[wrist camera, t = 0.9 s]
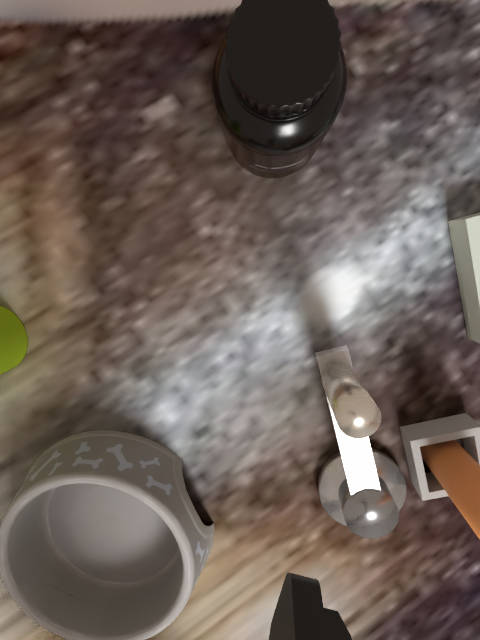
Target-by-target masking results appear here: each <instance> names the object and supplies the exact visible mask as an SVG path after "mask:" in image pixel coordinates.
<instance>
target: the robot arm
mask: <svg viewBox="0 0 480 640" xmlns="http://www.w3.org/2000/svg"><path fill="white" fill-rule="evenodd" d="M269 640H352V639H351V635H350V633H349V632H348V630H347V628H346V626H345V624H344V622H343V620H342V619H341V617H340V615H339V613H338V611H334V610H330V609H326V608H323V602H322V596H321V589H320V584H319V581H318V580H316V579H312V578H308V577H304V576H300V575H296V574H293V573H287V575H286V577H285V580H284V584H283V587H282V590H281V593H280V597H279V600H278V603H277V606H276V609H275V613H274V616H273V619H272V623H271V629H270V635H269Z"/></svg>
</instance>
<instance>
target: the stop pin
mask: <svg viewBox="0 0 480 640" xmlns="http://www.w3.org/2000/svg"><path fill="white" fill-rule="evenodd" d="M420 451H421V456H422V459H423V460H424V462H425V463H426V465H427V466H428V467H429V469H430V470H431V472H432V473H433V474H434V476H435V477H436V479H437V480H438V481H439V483H440V484H441V486H442V487H443V488H444V490H445V491H446V493H447V494H448V495H449V497H450V498H451V500H452V501H453V503H454V504H455V505H456V507H457V508H458V510H459V511H460V512H461V514H462V515H463V517H464V518H465V519H466V521H467V522H468V524H469V525H470V526H471V528H472V529H473V531H474V532H475V533H476V535H477V536H478V538H479V539H480V465H479V464H478V463H477V462H476V461H475V460H474V459H473V458H472V457H471V456H470V455H469V454H468V453H467V452H466V451H465V449H464V448H463V447H462V446H461V445H460V444H459V443H458V442H457V441H456V440H450V441H446V442H441V443H436V444H431V445H426V446H421V447H420Z"/></svg>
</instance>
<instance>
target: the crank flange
mask: <svg viewBox="0 0 480 640" xmlns="http://www.w3.org/2000/svg"><path fill="white" fill-rule="evenodd" d="M371 450H372V454H373V459H374V463H375V467H376V472H377V475H378V476H379V477H381V478H382V479H383V480H384V482H385V483H386V485H387V487H388V489H389V491H390V493H391V495H392V497H393V499H394V501H395V503H396V505H397V507H398V511H399V510H400V509H401V507H402V505H403V503H404V501H405V497H406V483H405V480H404V477H403V475H402V473H401V471H400V469H399V468H398V466H397V465H396V463H395V462H394V461H393V459H392V458H390V457H389V456H388V455H387V454H385V453H384V452H382V451H380V450H378V449H375V448H371ZM345 479H346V475H345V471H344V467H343V463H342V459H341V455H340V451H339V452H337V453H335V454H334V455H333V456H331V457H330V458H329V459H328V460H327V461H326V462H325V464H324V465H323V467H322V468H321V471H320V473H319V477H318V490H319V495H320V500H321V503H322V505H323V507H324V509H325V510H326V512H327V513H328V514H329V515H330V516H331V517H332V518H333V519H334V520H336V521H337V522H339V523H341V524H343V525H346V526H347V524H346V522H345V518H344V515H343V511H342V508H341V504H340V501H339V496H338V492H339V487H340V485H341V483H342V482H343V481H344V480H345Z"/></svg>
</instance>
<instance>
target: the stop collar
mask: <svg viewBox="0 0 480 640" xmlns="http://www.w3.org/2000/svg"><path fill="white" fill-rule="evenodd" d="M400 430H401V435H402V440H403V444H404V449H405V454H406V459H407V463H408V468H409V473H410V477H411V482H412V484H413V486H414V487H415V489H416V491H417V492H418V494H419V496H420V497H421V499H422V501H424V500H429V499H435V498H440V497H445V496H449V495H448V494H447V493H446V491H445V490H444V488H443V487H442V486H441V484H440V483H439V481H438V480H437V479H436V477H435V476H434V474H433V473H432V472H429V473H425V471H424V466H423V461H422V456H421V451H420V447H421V446H426V445H431V444H436V443H441V442H446V441H450V440H455V439H460V438H462V440H463V445H464V449H465V451H466V452H467V453H468V454H469V455H470V456H471V457H472V458H473V459H474V460H475V461H476V462H477V463H478V464H479V465H480V425H479V424H478V423H477V422H476V421H474V420H473V419H472V418H471V417H470V416H469V415H468V414H466V413H463V414H458V415H454V416H449V417H444V418H439V419H435V420H430V421H425V422H420V423H416V424H411V425H406V426H401V427H400Z"/></svg>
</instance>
